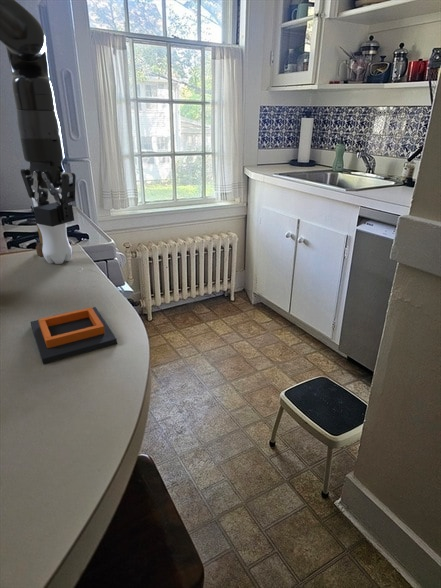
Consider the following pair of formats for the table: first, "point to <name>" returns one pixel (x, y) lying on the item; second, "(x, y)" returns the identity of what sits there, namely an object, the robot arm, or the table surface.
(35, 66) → the robot arm
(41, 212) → the dark gray block
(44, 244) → the water bottle
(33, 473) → the table surface
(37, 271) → the table surface
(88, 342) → the base pad
